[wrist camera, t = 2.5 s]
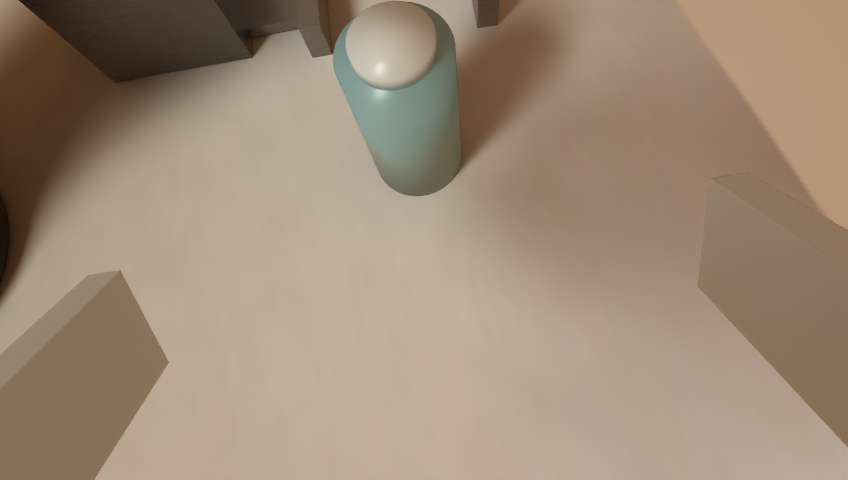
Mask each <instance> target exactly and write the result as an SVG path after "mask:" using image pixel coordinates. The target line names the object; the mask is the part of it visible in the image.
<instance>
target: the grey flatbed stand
mask: <svg viewBox="0 0 848 480" xmlns="http://www.w3.org/2000/svg"><path fill="white" fill-rule="evenodd" d="M19 1H20V2H21V3H23V4H24V5H25V6H26V7H27V8H28V9H30V10H31V11H32V12H33V13H34V14H36V15H37V16H38V17H39V18H40V19H41V20H43V21H44V22H45V23H46V24H47V25H48V26H50V27H51V28H52V29H53V30H54V31H56V32H57V33H58V34H59V35H60V36H61V37H63V38H64V39H65V40H66V41H67V42H69V43H70V44H71V45H72V46H73V47H74V48H76V49H77V50H78V51H79V52H80V53H81V54H83V55H84V56H85V57H86V58H87V59H89V60H90V61H91V62H92V63H93V64H94V65H96V66H97V67H98V68H99V69H100V70H101V71H103V72H104V73H105V74H106V75H107V76H109V77H110V78H111V79H112V80H113V81H114V82H119V81H125V80H130V79H136V78H141V77H147V76H152V75H158V74H163V73H169V72H175V71H180V70H186V69H191V68H197V67H202V66H208V65H213V64H219V63H224V62H230V61H235V60H241V59H246V58H252V57H253V53H252V37H258V36H263V35H269V34H274V33H280V32H285V31H291V30H296V29H299V30H300V32H301V34H302V36H303V38H304V40H305V43H306V45H307V47H308V49H309V51H310V53H311V55H312V57H318V56H324V55H329V54H332V50H331V39H330V27H329V16H328V5H327V0H19ZM472 2H473V7H474V12H475V17H476V22H477V27H478V28H480V27H485V26H491V25H497V24H498V8H499V0H472Z"/></svg>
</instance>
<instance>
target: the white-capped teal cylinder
mask: <svg viewBox="0 0 848 480" xmlns="http://www.w3.org/2000/svg"><path fill="white" fill-rule="evenodd" d="M333 66H334V70H335V74H336V76H337V79H338V81H339V83H340V85H341V88H342V90H343V92H344V94H345V97H346V99H347V101H348V103H349V106H350V108H351V110H352V112H353V115H354V117H355V119H356V121H357V124H358V126H359V128H360V130H361V133H362V135H363V137H364V139H365V142H366V144H367V146H368V148H369V151H370V153H371V155H372V157H373V160H374V162H375V164H376V166H377V169H378V171H379V173H380V175H381V177H382V179H383V180H384V181H385V183H386V184H387V185H388V186H390V187H391V188H392V189H394V190H395V191H397V192H399V193H402V194H405V195H410V196H424V195H429V194H432V193H435V192H437V191H439V190H441V189H442V188H444V187H445V186H446V185H448V184H449V183H450V182H451V181H452V180H453V178H454V177H455V175H456V174H457V172H458V170H459V167H460V163H461V138H460V120H459V103H458V85H457V68H456V50H455V41H454V36H453V34H452V31H451V29H450V27H449V26H448V24H447V23H446V22H445V20H444V19H443V18H442V17H441V16H440V15H439V14H437V13H436V12H434V11H433V10H431V9H429V8H427V7H425V6H423V5H420V4H416V3H412V2H403V1H387V2H382V3H379V4H376V5H373V6H371V7H369V8H367V9H366V10H364V11H363V12H361V13H360V14H358V15H357V16H356V17H354V18H353V19H352V20H351V21H350V22H349V23H348V24H347V25H346V26H345V27H344V29H343V30H342V32H341V33H340V35H339V37H338V39H337V41H336V44H335V47H334V52H333Z"/></svg>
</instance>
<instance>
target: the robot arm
mask: <svg viewBox="0 0 848 480" xmlns="http://www.w3.org/2000/svg"><path fill="white" fill-rule="evenodd" d="M7 246H8V225H7V217H6V212H5V208H4V205H3V202H2V199H1V197H0V279H1V276H2V272H3V269H4V265H5V260H6V254H7ZM698 287H699V288H700V289H701V290H702V291H703V292H704V293H705V295H706V296H707V297H708V298H709V299H710V300H711V301H712V302H713V303H714V304H715V305H716V306H717V307H718V308H719V310H720V311H721V312H722V313H723V314H724V315H725V316H726V317H727V318H728V319H729V320H730V321H731V322H732V323H733V325H734V326H735V327H736V328H737V329H738V330H739V331H740V332H741V333H742V334H743V335H744V336H745V337H746V338H747V340H748V341H749V342H750V343H751V344H752V345H753V346H754V347H755V348H756V349H757V350H758V351H759V352H760V354H761V355H762V356H763V357H764V358H765V359H766V360H767V361H768V362H769V363H770V364H771V365H772V366H773V367H774V369H775V370H776V371H777V372H778V373H779V374H780V375H781V376H782V377H783V378H784V379H785V380H786V381H787V382H788V384H789V385H790V386H791V387H792V388H793V389H794V390H795V391H796V392H797V393H798V394H799V395H800V396H801V397H802V399H803V400H804V401H805V402H806V403H807V404H808V405H809V406H810V407H811V408H812V409H813V410H814V411H815V412H816V414H817V415H818V416H819V417H820V418H821V419H822V420H823V421H824V422H825V423H826V424H827V425H828V426H829V428H830V429H831V430H832V431H833V432H834V433H835V434H836V435H837V436H838V437H839V438H840V439H841V440H842V441H843V443H844V444H845V445H846V446H847V447H848V230H846V229H844V228H843V227H841V226H839V225H838V224H836V223H834V222H833V221H831V220H829V219H827V218H826V217H824V216H822V215H820V214H819V213H817V212H815V211H813V210H812V209H810V208H808V207H806V206H805V205H803V204H801V203H799V202H798V201H796V200H794V199H793V198H791V197H789V196H787V195H786V194H784V193H782V192H780V191H779V190H777V189H775V188H773V187H772V186H770V185H768V184H766V183H765V182H763V181H761V180H759V179H758V178H756V177H754V176H752V175H751V174H749V173H742V174H735V175H729V176H722V177H716V178H710V186H709V194H708V203H707V212H706V220H705V229H704V237H703V246H702V255H701V263H700V272H699V281H698ZM168 363H169V362H168V360H167V358H166V356H165V354H164V352H163V350H162V349H161V347H160V345H159V343H158V341H157V339H156V337H155V335H154V333H153V331H152V330H151V328H150V326H149V324H148V322H147V320H146V318H145V316H144V314H143V313H142V311H141V309H140V307H139V305H138V303H137V301H136V299H135V297H134V296H133V294H132V292H131V290H130V288H129V286H128V284H127V282H126V280H125V279H124V277H123V275H122V273H121V271H120V270H119V271H112V272H106V273H100V274H93V275H88V276H87V277H86V278H85V279H84V280H82V281H81V282H80V283H79V284H78V285H77V286H76V287H75V288H74V289H73V290H71V291H70V292H69V293H68V294H67V295H66V296H65V297H64V298H63V299H62V300H60V301H59V302H58V303H57V304H56V305H55V306H54V307H53V308H52V309H51V310H49V311H48V312H47V313H46V314H45V315H44V316H43V317H42V318H41V319H40V320H38V321H37V322H36V323H35V324H34V325H33V326H32V327H31V328H30V329H29V330H27V331H26V332H25V333H24V334H23V335H22V336H21V337H20V338H19V339H18V340H16V341H15V342H14V343H13V344H12V345H11V346H10V347H9V348H8V349H6V350H5V351H4V352H3V353H2V354H1V355H0V480H94V479H95V477H96V476H97V474H98V472H99V471H100V469H101V468H102V466H103V465H104V463H105V462H106V460H107V458H108V457H109V455H110V454H111V452H112V451H113V449H114V447H115V446H116V444H117V443H118V441H119V440H120V438H121V436H122V435H123V433H124V432H125V430H126V429H127V427H128V425H129V424H130V422H131V421H132V419H133V418H134V416H135V415H136V413H137V411H138V410H139V408H140V407H141V405H142V404H143V402H144V400H145V399H146V397H147V396H148V394H149V393H150V391H151V389H152V388H153V386H154V385H155V383H156V382H157V380H158V378H159V377H160V375H161V374H162V372H163V371H164V369H165V367H166V366H167V364H168Z"/></svg>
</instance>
